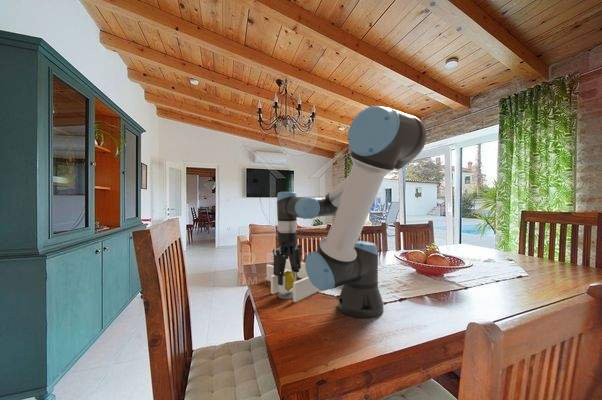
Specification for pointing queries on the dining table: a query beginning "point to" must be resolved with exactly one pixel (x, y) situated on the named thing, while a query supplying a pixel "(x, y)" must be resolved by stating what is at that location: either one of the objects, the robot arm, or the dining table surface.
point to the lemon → (289, 280)
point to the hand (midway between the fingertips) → (287, 290)
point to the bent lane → (300, 287)
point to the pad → (286, 295)
